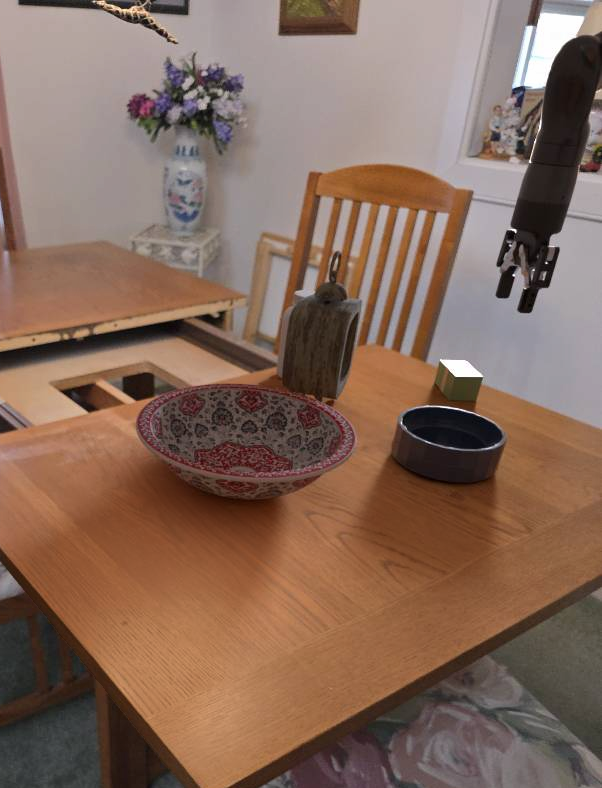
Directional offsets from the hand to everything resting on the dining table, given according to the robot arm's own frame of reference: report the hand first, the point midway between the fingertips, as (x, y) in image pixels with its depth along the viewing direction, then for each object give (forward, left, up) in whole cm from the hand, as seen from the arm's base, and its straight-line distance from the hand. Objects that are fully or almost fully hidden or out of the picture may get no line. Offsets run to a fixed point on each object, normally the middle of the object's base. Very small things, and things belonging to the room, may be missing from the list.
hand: (512, 305), depth 116 cm
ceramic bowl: (+47, +29, -17) cm, 58 cm away
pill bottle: (+32, -10, -17) cm, 38 cm away
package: (+4, -4, -17) cm, 18 cm away
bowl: (+16, +23, -17) cm, 33 cm away
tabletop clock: (+32, +4, -17) cm, 37 cm away
